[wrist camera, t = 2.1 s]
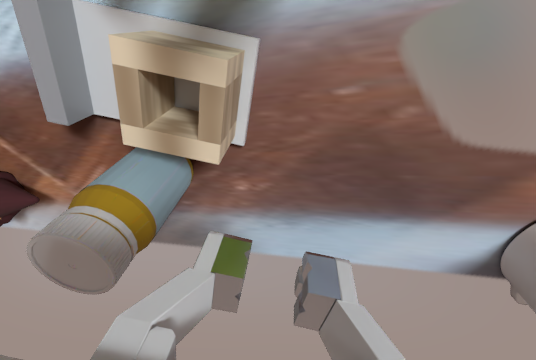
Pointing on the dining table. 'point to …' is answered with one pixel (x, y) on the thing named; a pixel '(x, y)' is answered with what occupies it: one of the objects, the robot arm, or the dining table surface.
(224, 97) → the block
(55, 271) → the bottle
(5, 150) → the dining table surface
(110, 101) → the grey l-shaped tray
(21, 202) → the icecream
